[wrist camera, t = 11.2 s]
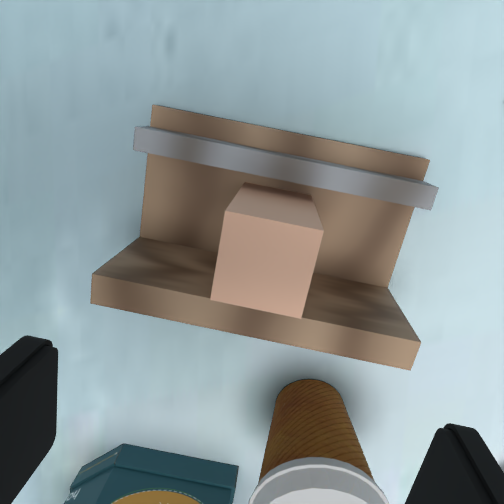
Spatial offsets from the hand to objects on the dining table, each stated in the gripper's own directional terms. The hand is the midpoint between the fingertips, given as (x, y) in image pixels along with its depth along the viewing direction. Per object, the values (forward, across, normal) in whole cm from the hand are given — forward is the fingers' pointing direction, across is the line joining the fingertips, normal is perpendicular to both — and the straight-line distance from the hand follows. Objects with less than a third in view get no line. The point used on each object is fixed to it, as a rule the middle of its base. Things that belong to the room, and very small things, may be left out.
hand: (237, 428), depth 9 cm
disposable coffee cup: (+22, -7, +17) cm, 29 cm away
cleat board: (+22, 0, 0) cm, 22 cm away
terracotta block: (+21, 0, 0) cm, 21 cm away
